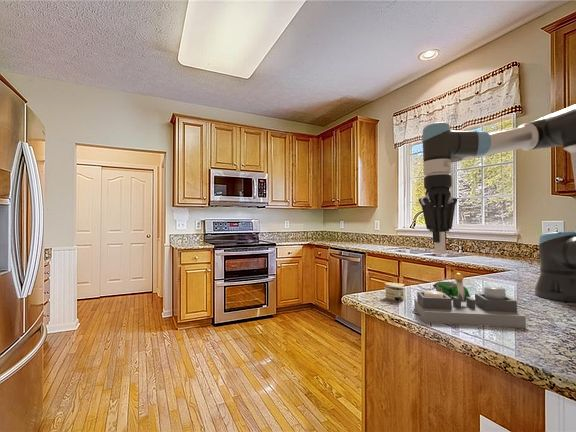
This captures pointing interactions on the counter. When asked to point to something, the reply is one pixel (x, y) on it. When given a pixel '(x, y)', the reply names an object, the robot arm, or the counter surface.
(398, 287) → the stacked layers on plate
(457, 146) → the robot arm
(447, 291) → the snack package
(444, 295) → the control panel
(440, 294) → the white button
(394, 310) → the counter surface
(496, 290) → the grey blue button
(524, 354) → the counter surface
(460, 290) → the toggle lever
